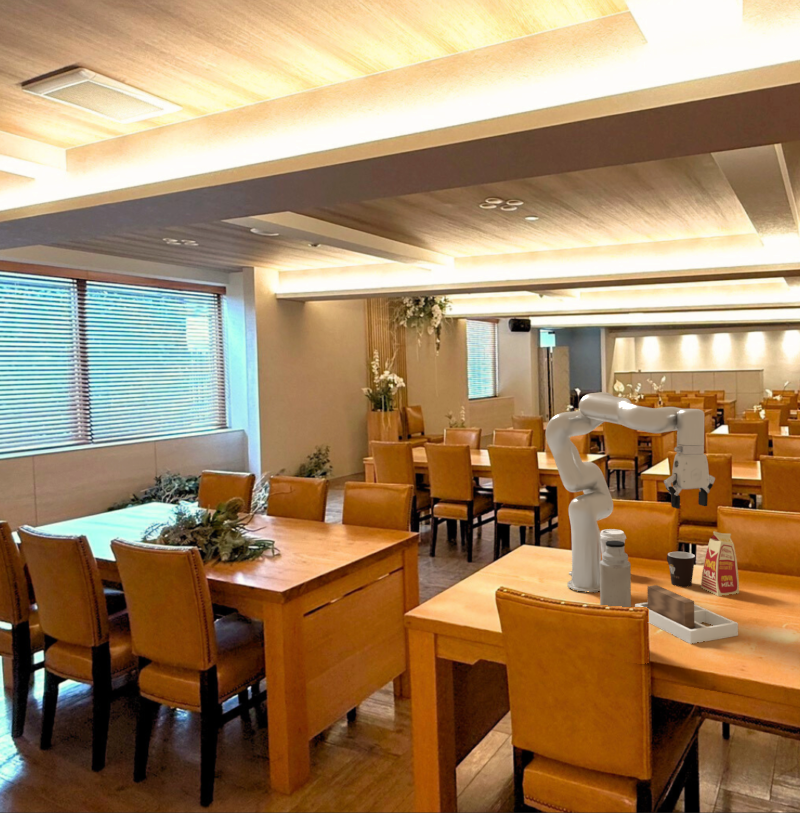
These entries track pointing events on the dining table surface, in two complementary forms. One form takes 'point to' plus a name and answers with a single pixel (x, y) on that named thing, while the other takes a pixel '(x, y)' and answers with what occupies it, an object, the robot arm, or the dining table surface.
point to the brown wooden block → (671, 605)
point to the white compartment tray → (695, 625)
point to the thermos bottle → (615, 576)
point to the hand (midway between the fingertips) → (689, 506)
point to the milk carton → (720, 566)
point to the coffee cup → (611, 537)
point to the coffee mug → (681, 568)
